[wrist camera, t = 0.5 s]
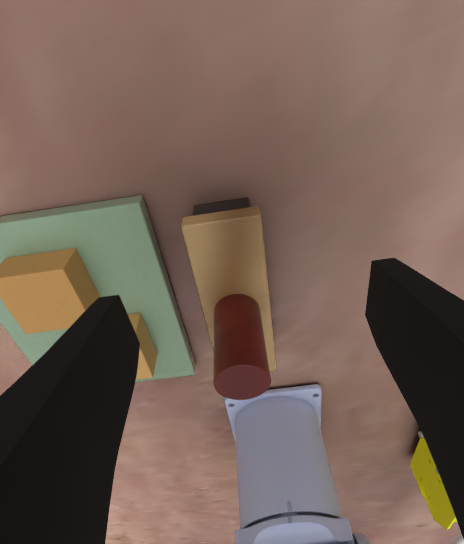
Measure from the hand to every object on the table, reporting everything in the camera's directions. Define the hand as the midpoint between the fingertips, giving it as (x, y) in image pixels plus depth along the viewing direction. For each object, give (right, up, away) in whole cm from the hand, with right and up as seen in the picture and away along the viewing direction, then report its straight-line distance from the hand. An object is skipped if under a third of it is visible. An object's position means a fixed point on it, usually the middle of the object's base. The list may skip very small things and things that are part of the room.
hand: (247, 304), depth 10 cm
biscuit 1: (-11, 0, +10) cm, 14 cm away
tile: (-10, -1, +12) cm, 16 cm away
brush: (0, 0, +12) cm, 12 cm away
